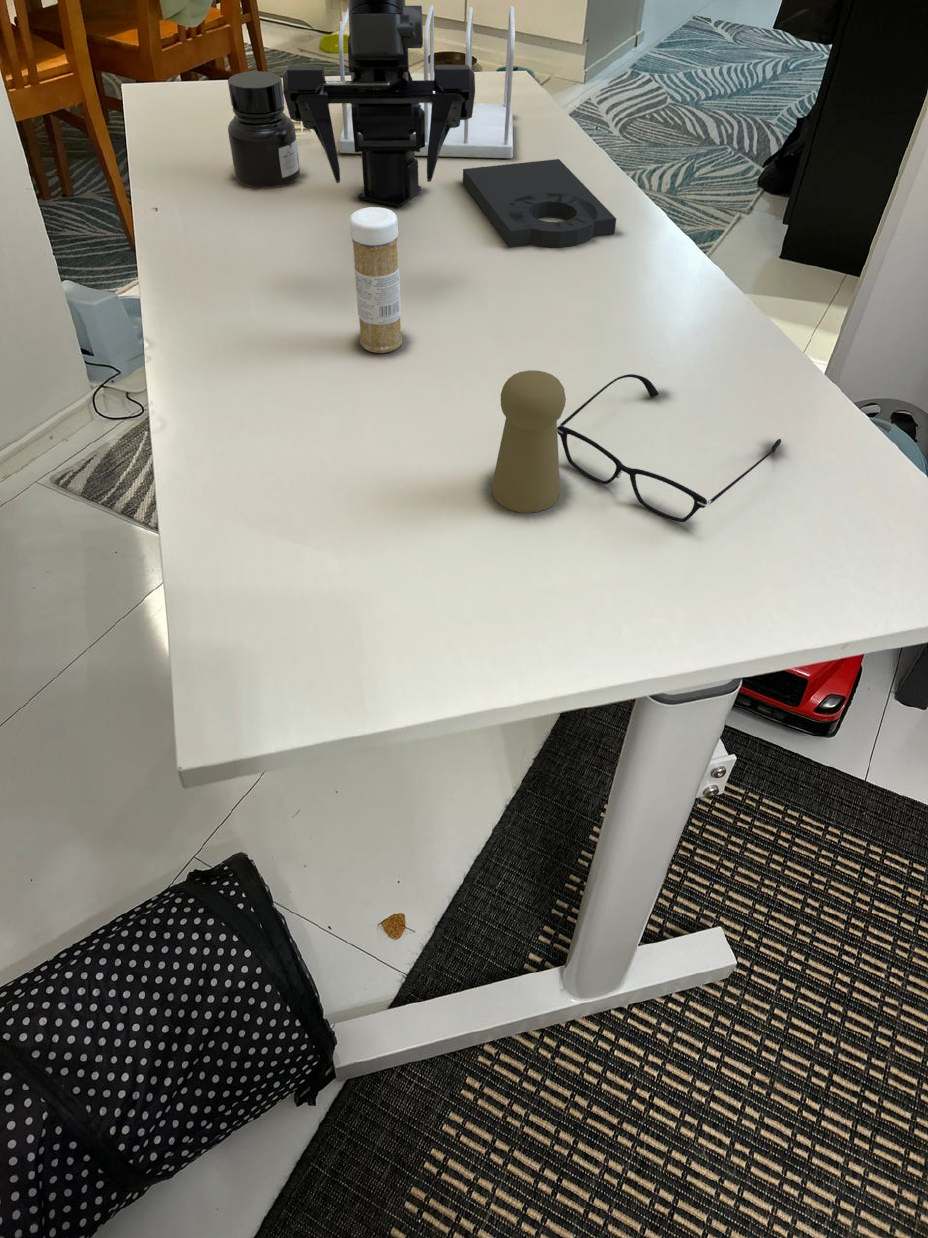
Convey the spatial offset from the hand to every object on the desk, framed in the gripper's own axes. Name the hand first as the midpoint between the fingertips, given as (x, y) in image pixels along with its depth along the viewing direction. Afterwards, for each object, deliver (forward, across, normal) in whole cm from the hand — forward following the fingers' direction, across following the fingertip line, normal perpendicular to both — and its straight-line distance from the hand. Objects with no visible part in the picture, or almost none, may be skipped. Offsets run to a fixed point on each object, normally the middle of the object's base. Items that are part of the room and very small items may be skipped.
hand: (383, 180), depth 91 cm
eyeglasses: (+30, +25, -12) cm, 41 cm away
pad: (-8, +19, +28) cm, 34 cm away
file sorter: (-26, +6, +47) cm, 54 cm away
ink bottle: (-16, -17, +36) cm, 43 cm away
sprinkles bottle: (+16, -1, +4) cm, 16 cm away
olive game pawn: (+33, +12, -14) cm, 38 cm away
